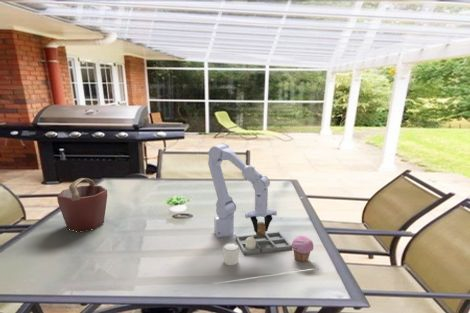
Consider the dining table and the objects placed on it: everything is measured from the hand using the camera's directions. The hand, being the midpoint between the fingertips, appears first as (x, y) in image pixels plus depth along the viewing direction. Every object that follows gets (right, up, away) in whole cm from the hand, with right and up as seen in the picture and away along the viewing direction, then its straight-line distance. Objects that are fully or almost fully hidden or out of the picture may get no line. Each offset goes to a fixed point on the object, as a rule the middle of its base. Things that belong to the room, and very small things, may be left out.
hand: (260, 231), depth 144 cm
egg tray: (+1, -6, -2) cm, 6 cm away
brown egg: (0, -1, 0) cm, 1 cm away
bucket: (-91, -2, +19) cm, 93 cm away
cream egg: (-5, -6, -7) cm, 11 cm away
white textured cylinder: (-14, -9, -17) cm, 23 cm away
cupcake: (+16, -9, -15) cm, 23 cm away
